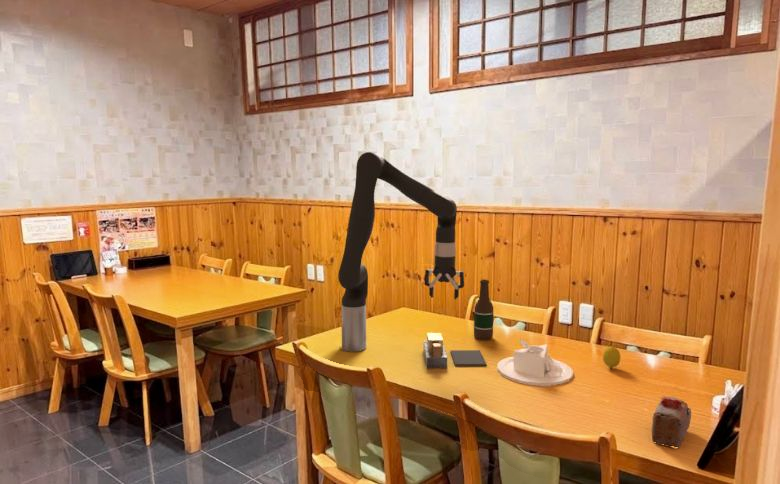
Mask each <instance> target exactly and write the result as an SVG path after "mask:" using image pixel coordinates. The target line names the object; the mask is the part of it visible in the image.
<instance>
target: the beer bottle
mask: <svg viewBox="0 0 780 484" xmlns="http://www.w3.org/2000/svg"><path fill="white" fill-rule="evenodd" d="M479 284H480V287H479V297H478V299H477V302H476V303H475V305H474V311H473V313H474V314H473V316H474V317H473V337H474V338H475V339H476V340H479V341H480V340H481V341H490V340H492V338H493V336H494V305H493V302H492V301H491V299H490V290H489V289H490V288H489V285H490V281H489V279H480V280H479Z"/></svg>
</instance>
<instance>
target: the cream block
mask: <svg viewBox="0 0 780 484" xmlns="http://www.w3.org/2000/svg"><path fill="white" fill-rule="evenodd" d="M426 339H427V340H426V341H427V346H428V351H429V352H433V343H440V346H441V352H443V345H444V339H443V336H442V333H441V332H438V333H437V332H427V334H426Z"/></svg>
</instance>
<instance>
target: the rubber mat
mask: <svg viewBox="0 0 780 484" xmlns="http://www.w3.org/2000/svg"><path fill="white" fill-rule="evenodd" d="M449 353H450V355H451V358H452V361H453V365H454V366H455V367H487V365H488V364H487V362H486V360H485V358H484V356H483V354H482V352H481V350H479V349H478V350H477V349H475V350H474V349H472V350H470V349H469V350H468V349H467V350H466V349H465V350H463V349H461V350H460V349H459V350H457V349H455V350H452V349H451V350H450V352H449Z"/></svg>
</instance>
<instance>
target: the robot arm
mask: <svg viewBox="0 0 780 484" xmlns="http://www.w3.org/2000/svg"><path fill="white" fill-rule="evenodd" d="M378 179H379V180H381V181H383V182H386V183H388V184H389V185H391V186H392V187H394V188H395V189H397V190H398V191H399V192H400V193H401V194H403V195H404V196H406V197H407V198H408V199H409V200H412V201H413V202H415V203H417V204H418V205H420V206H422V207H423V208H425V209H427V211H429V212H430V213H432V214H433V215H435V216H437V225H436V229H435V244H434V260H433V261H434V265H433V269H430V268H426V270H424V273H425V275H424V283H423V284H424V286H427V287H428V288H429V289H428V290H429V292H428V293H429V296H430V298H434V297H435V295H434V294H435V292H434V291H435V284H436V283H437V282H439V283H449V282H450V283H451V285H453V287H454V293H453V295H454V297H453V298H454V300H458V298H459V296H460V295H459V293H460V289H463V288H464V287H465V271H464V270H456V254H457V251H456V250H457V249H456V247H457V246H456V223H457V214H458V213H457V212H458V210H457V209H458V207H457V203H456V202H455V201H454V200H453V199H451V198H446V197H444V196H442V195H440V194H439V193H437V192H436V191H435V190H433V188H432V187H429V186H428V185H426V184H424V183H422V182H421V181H419V180H417V179H415V178H413V177H412V176H410V175H408V174H407V173H405V172H403V171H402V170H399V169H398V168H397V167H395V166H394V165H393V164H392V163H391V162H390V161H388V160H387V159H386V158H385V157H383V155H381V154H380V153H379V152H376V151H368V152H367V151H366V152H363V153H362V154H361V155H359V157H358V159H357V161H356V170H355V186H354V192H353V196H352V201H351V207H350V213H349V218H348V224H347V232H346V238H345V243H344V244H345V245H344V251H343V255H342V258H341V261H340V266H339V270H338V275H337V278H338V282H339V285H341V287H342V288H343V289H345V290H344V293H343V295H342V297H341V351H346V352H351V353H352V352H361V351H364V350H366V349H367V299H368V298H367V297H368V295H369V294H368V292H369V273H368V269H367V267H366V266H365V264H363V263H362V259H363V256H364V255H363V254H364V252H365V249H366V247H367V245H368V243H369V241H370V239H371V236H372V233H373V230H374V229H373V228H374V223H375V218H376V217H375V216H376V205H375V204H376V203H375V190H376V186H377V182H378ZM432 274H433V275H434V277H435V278H433V280H432V281H431V282H430V276H431V275H432ZM456 275H457V277H458V278H459V283H458V282H457V280H456V278H455V277H456Z"/></svg>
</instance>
